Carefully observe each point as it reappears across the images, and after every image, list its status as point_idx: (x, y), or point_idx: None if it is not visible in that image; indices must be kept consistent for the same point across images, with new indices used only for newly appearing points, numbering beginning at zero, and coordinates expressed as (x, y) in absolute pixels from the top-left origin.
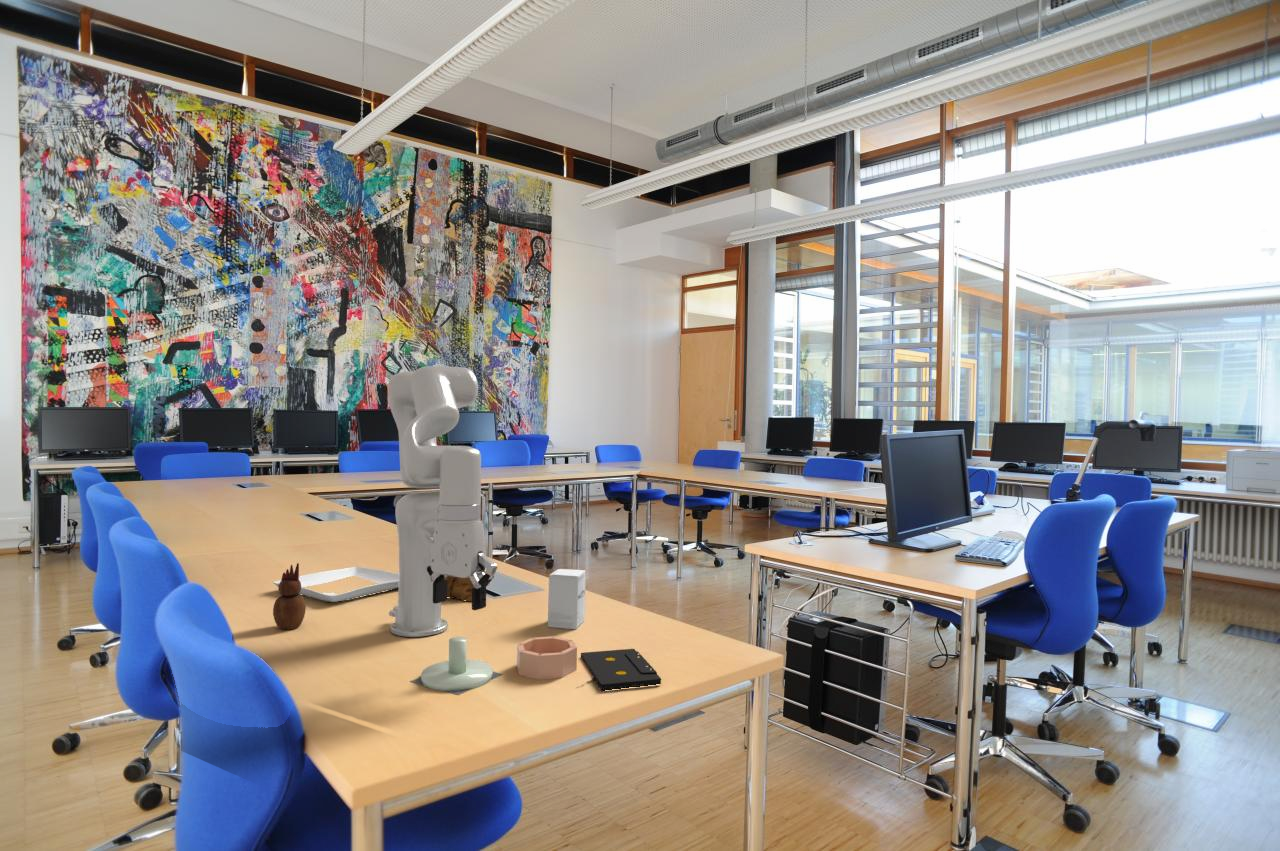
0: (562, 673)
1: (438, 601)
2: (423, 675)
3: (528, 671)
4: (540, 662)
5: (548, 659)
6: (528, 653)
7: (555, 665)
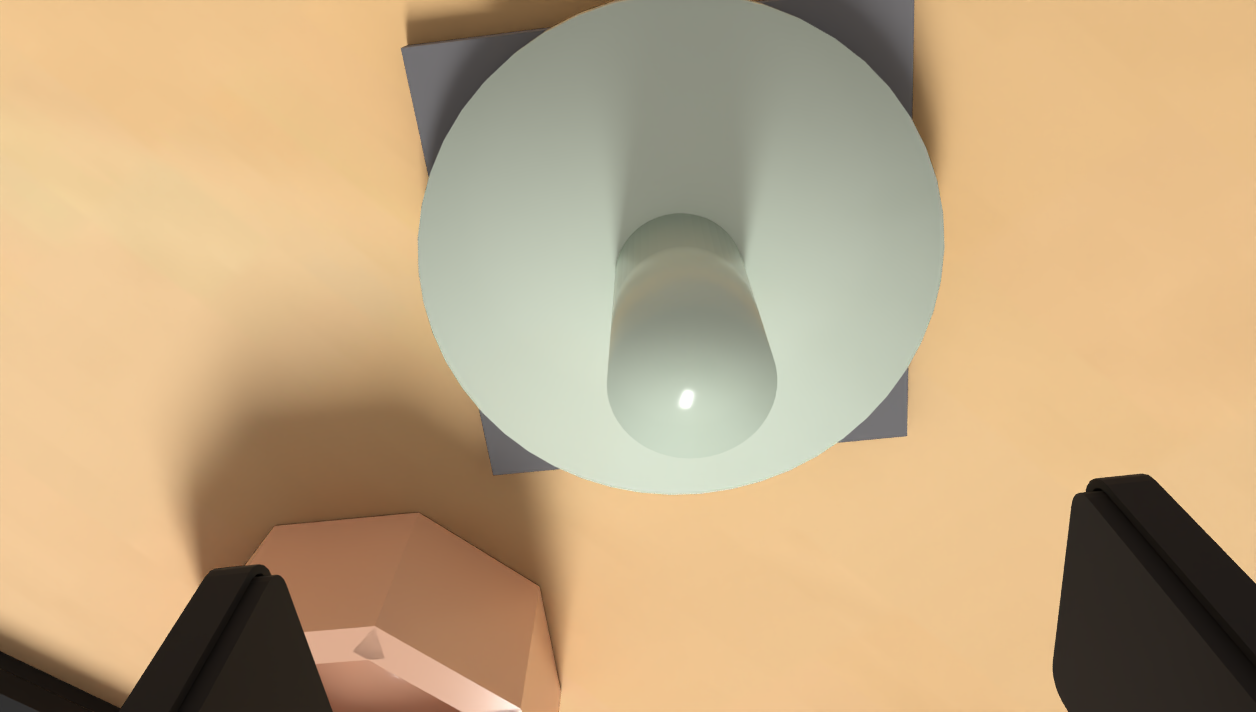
0: None
1: (1076, 541)
2: (825, 54)
3: (331, 551)
4: None
5: None
6: None
7: None
